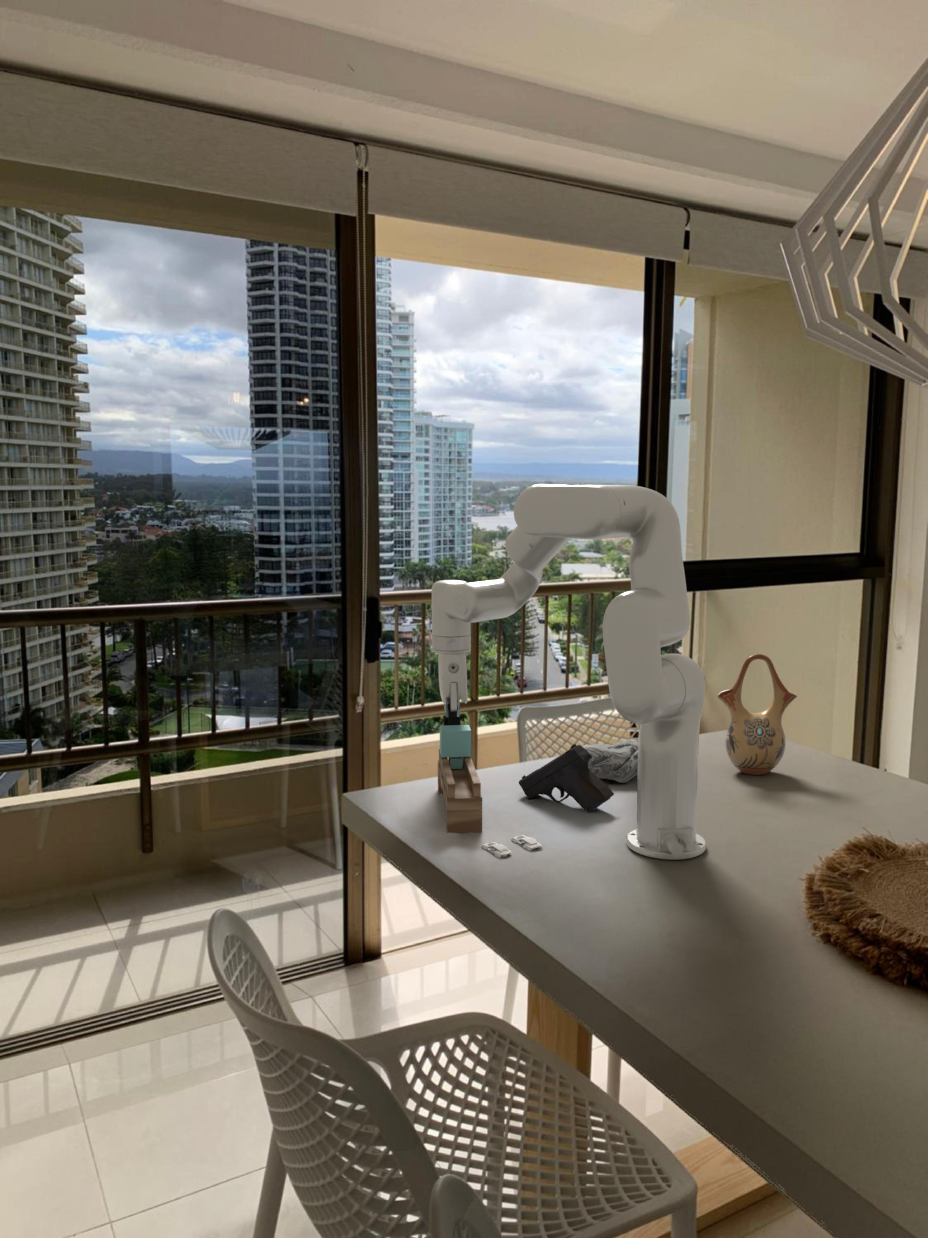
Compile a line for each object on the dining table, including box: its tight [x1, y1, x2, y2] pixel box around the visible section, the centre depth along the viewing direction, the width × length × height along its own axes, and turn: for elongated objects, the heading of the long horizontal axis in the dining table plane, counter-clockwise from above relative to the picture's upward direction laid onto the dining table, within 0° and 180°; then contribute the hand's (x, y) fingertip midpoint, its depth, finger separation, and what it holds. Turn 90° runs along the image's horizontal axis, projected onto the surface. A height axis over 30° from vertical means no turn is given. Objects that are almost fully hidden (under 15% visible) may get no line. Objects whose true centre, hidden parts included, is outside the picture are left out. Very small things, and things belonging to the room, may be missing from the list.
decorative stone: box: [581, 738, 638, 784], centre depth 188 cm, size 15×14×10 cm
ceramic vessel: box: [716, 653, 798, 776], centre depth 189 cm, size 16×9×25 cm, turn 92°
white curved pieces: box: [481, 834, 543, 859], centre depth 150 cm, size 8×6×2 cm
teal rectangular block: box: [439, 724, 472, 769], centre depth 173 cm, size 4×6×8 cm
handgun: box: [518, 743, 615, 813], centre depth 171 cm, size 4×16×12 cm
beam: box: [437, 748, 483, 834], centre depth 168 cm, size 24×6×8 cm, turn 5°
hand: (452, 735), depth 181 cm, fingers closed
